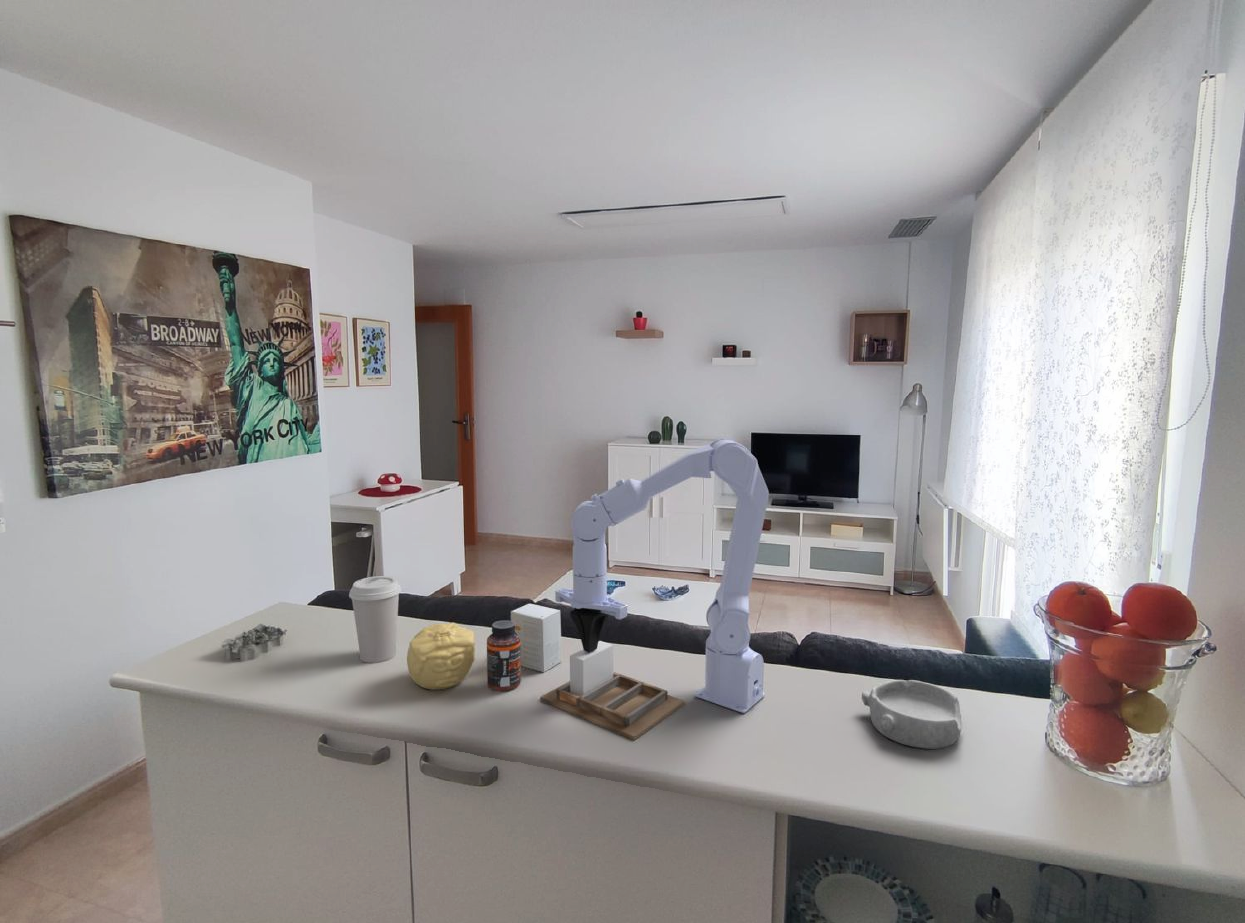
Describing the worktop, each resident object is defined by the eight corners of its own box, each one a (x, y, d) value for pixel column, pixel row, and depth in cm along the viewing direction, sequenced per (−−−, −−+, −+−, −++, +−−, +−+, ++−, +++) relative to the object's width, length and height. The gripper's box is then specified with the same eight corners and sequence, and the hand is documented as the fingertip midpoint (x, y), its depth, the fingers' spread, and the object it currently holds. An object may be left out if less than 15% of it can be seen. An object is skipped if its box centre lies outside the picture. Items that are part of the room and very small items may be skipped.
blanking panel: (613, 682, 112) (613, 644, 111) (583, 700, 106) (583, 660, 105) (600, 678, 114) (600, 640, 113) (570, 695, 108) (569, 655, 107)
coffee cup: (385, 642, 131) (382, 572, 130) (413, 653, 126) (411, 580, 124) (342, 658, 124) (338, 583, 122) (370, 670, 118) (366, 593, 116)
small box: (562, 662, 122) (561, 610, 121) (543, 673, 117) (542, 619, 116) (530, 653, 126) (529, 602, 125) (511, 663, 122) (510, 610, 120)
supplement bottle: (513, 694, 109) (512, 631, 108) (481, 691, 110) (480, 628, 109) (526, 679, 115) (525, 619, 114) (495, 676, 116) (493, 616, 115)
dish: (949, 711, 104) (951, 682, 104) (978, 758, 91) (980, 725, 90) (857, 701, 107) (858, 673, 107) (871, 746, 94) (873, 715, 93)
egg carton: (248, 664, 122) (246, 644, 121) (217, 659, 124) (216, 639, 123) (291, 642, 132) (290, 624, 131) (262, 638, 134) (261, 620, 133)
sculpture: (415, 703, 106) (412, 641, 105) (402, 675, 117) (400, 618, 115) (482, 688, 112) (480, 629, 110) (464, 662, 122) (463, 608, 121)
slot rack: (684, 704, 106) (684, 692, 106) (634, 740, 95) (634, 727, 95) (593, 671, 118) (593, 660, 118) (540, 700, 107) (539, 688, 107)
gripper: (542, 570, 108) (543, 646, 110) (608, 586, 99) (608, 669, 101) (570, 561, 114) (571, 634, 115) (634, 576, 105) (634, 654, 107)
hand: (590, 649), depth 109 cm, fingers closed
